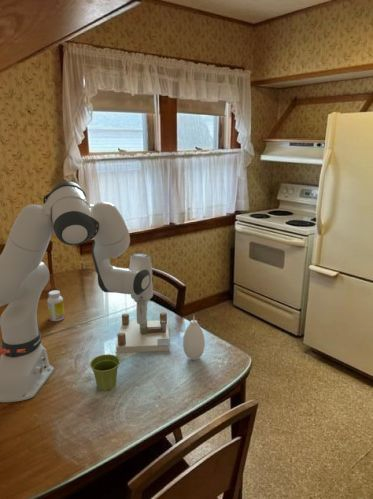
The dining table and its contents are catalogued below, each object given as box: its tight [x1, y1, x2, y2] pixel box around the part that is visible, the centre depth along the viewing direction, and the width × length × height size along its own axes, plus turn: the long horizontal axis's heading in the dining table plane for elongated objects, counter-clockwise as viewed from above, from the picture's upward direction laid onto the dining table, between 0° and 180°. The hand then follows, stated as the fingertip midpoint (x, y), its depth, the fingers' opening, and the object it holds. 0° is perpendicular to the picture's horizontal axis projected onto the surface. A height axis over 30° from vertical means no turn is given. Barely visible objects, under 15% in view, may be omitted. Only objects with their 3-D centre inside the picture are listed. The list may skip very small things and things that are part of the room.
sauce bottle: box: [182, 315, 206, 361], centre depth 133 cm, size 8×8×18 cm
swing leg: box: [140, 320, 166, 334], centre depth 148 cm, size 3×10×6 cm, turn 97°
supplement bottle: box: [46, 289, 66, 322], centre depth 164 cm, size 7×7×13 cm
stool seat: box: [115, 311, 171, 354], centre depth 148 cm, size 20×20×6 cm
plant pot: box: [89, 354, 121, 391], centre depth 120 cm, size 9×9×9 cm
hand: (143, 322), depth 151 cm, fingers closed
